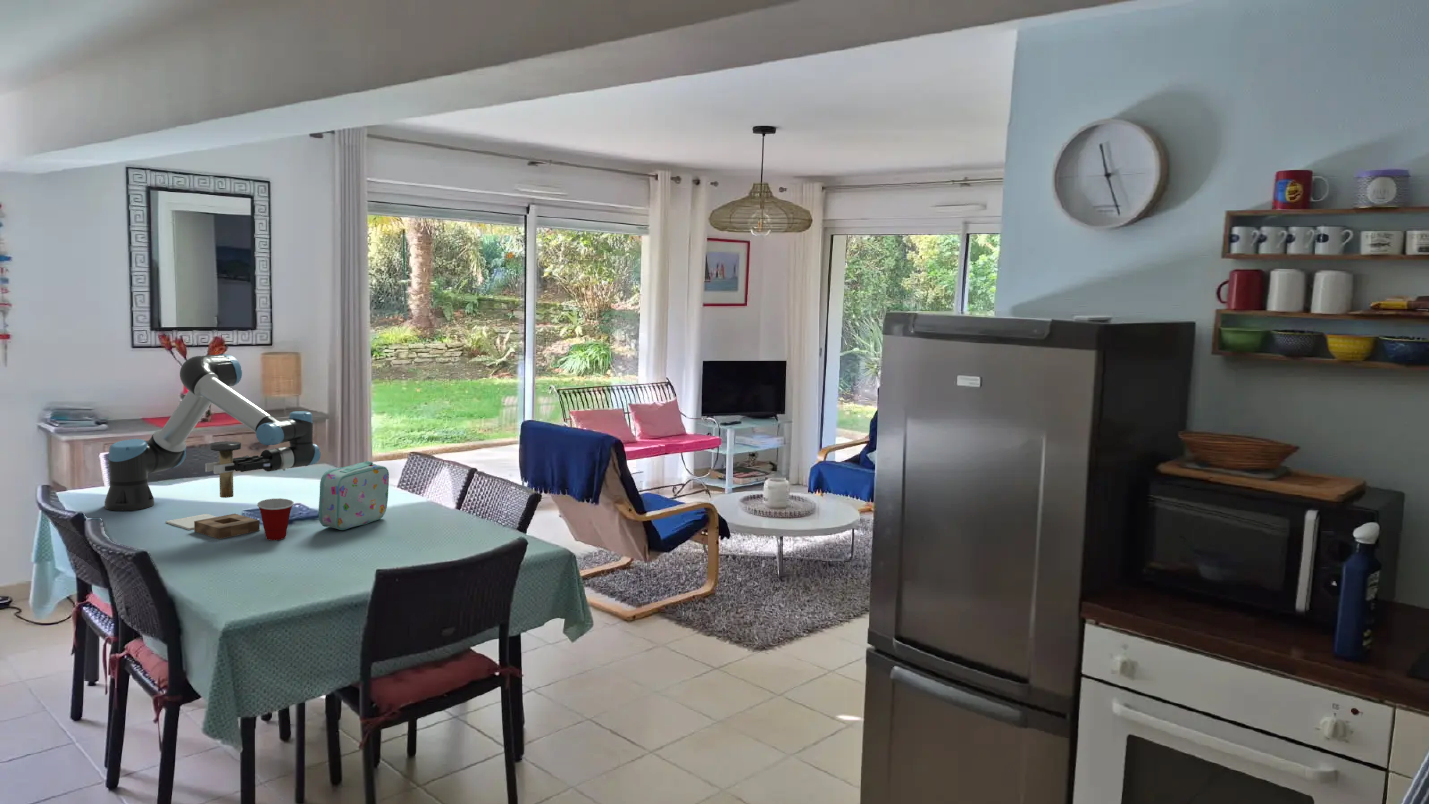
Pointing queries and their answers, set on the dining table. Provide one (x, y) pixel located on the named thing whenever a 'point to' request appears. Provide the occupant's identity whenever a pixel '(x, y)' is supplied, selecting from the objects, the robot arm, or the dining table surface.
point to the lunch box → (353, 495)
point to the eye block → (226, 526)
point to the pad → (189, 521)
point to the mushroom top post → (225, 458)
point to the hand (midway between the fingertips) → (210, 468)
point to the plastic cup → (275, 517)
